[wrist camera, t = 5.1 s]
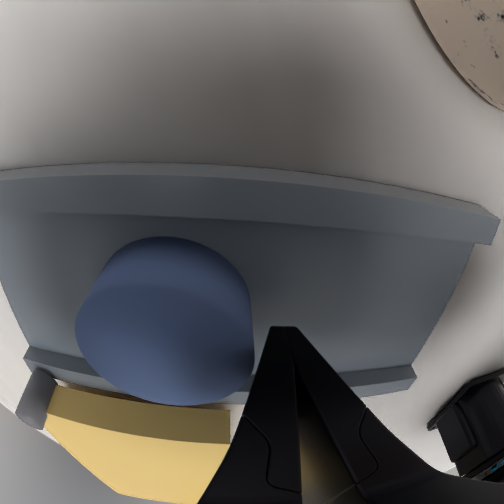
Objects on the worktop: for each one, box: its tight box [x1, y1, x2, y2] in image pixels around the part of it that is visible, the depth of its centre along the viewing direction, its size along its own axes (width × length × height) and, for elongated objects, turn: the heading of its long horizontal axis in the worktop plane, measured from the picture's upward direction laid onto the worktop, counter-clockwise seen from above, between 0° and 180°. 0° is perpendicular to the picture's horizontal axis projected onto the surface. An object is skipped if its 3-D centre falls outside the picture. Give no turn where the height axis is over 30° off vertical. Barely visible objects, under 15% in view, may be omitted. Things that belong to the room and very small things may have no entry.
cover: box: [15, 370, 230, 504], centre depth 13 cm, size 17×9×2 cm, turn 174°
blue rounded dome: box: [75, 236, 255, 406], centre depth 8 cm, size 5×5×2 cm
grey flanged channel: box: [0, 162, 500, 404], centre depth 9 cm, size 18×9×1 cm, turn 84°
